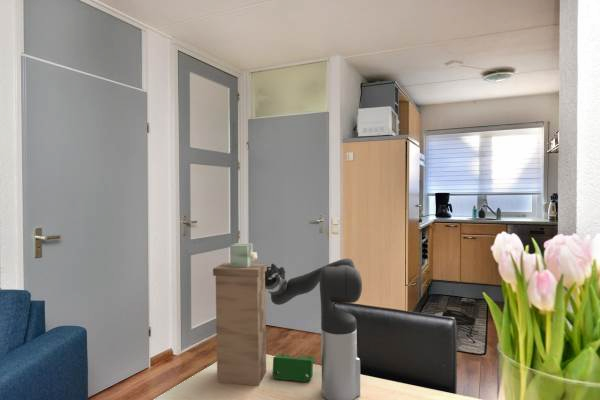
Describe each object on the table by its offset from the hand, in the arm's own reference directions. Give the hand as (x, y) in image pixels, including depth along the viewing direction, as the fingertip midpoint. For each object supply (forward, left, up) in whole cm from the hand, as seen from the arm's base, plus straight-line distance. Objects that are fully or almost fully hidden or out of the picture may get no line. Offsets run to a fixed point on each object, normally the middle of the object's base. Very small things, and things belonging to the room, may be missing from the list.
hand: (259, 266), depth 130 cm
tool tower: (+10, +17, -28) cm, 35 cm away
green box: (-4, +22, -29) cm, 36 cm away
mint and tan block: (+7, +12, +4) cm, 15 cm away
